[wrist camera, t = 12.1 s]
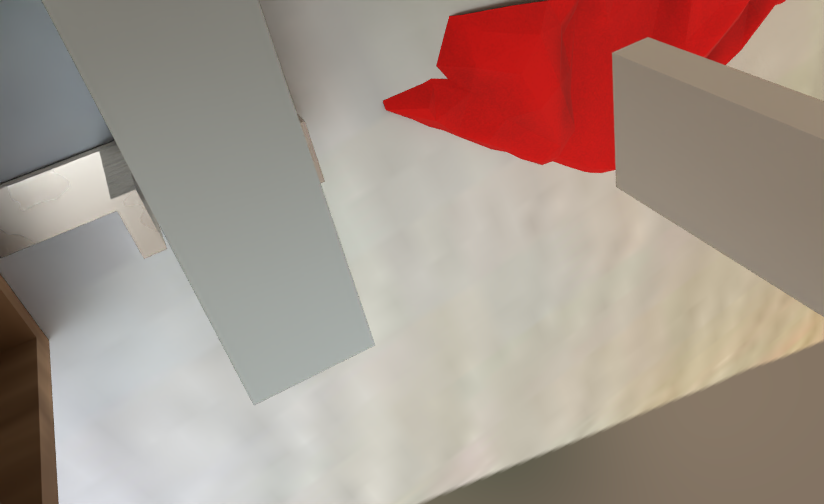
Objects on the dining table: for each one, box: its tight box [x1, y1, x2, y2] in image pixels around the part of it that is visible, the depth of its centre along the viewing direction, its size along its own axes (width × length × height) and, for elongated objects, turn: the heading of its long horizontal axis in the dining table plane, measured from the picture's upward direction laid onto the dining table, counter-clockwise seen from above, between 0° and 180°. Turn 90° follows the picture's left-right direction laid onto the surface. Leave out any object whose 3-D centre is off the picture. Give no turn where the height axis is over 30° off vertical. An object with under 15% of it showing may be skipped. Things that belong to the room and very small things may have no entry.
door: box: [42, 0, 375, 405], centre depth 19 cm, size 13×4×12 cm, turn 13°
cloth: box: [383, 0, 785, 173], centre depth 33 cm, size 26×14×2 cm, turn 88°
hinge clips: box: [0, 112, 325, 259], centre depth 22 cm, size 11×12×4 cm
